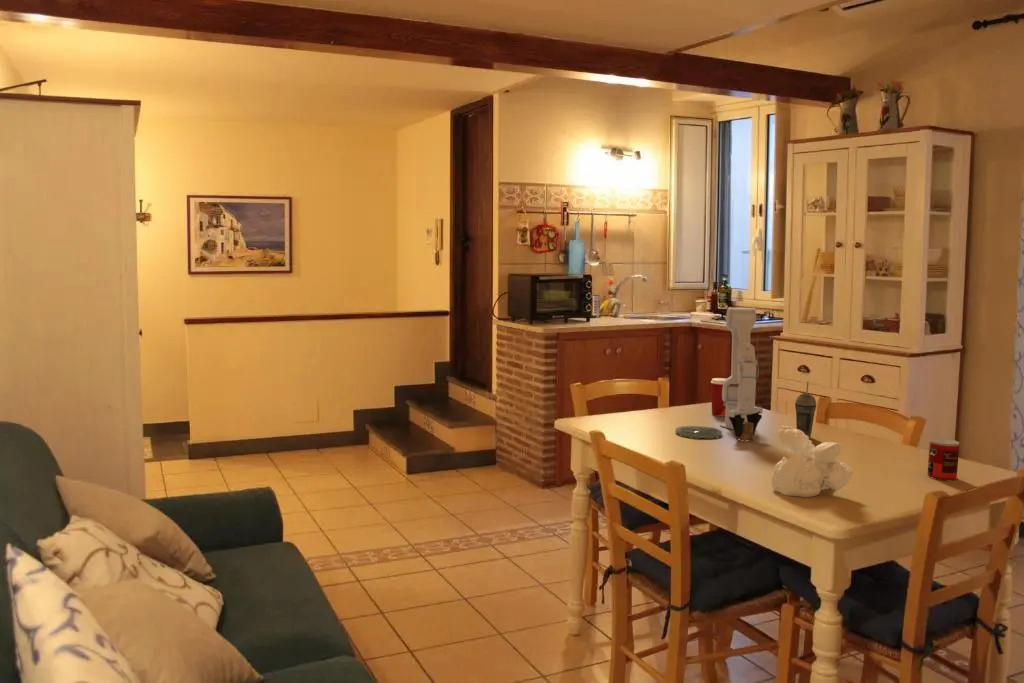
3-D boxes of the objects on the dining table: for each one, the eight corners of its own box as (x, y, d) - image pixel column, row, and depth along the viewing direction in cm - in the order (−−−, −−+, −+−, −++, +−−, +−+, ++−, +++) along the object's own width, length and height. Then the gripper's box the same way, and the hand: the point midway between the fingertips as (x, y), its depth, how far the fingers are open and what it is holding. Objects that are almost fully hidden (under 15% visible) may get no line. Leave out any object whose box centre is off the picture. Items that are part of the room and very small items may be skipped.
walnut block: (744, 438, 316) (744, 421, 316) (752, 440, 313) (753, 423, 312) (735, 439, 314) (736, 422, 313) (744, 441, 311) (745, 424, 310)
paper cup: (731, 416, 352) (732, 381, 351) (711, 416, 353) (712, 380, 351) (726, 412, 360) (728, 377, 359) (707, 412, 360) (708, 377, 359)
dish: (699, 427, 332) (699, 424, 332) (731, 436, 319) (731, 432, 318) (666, 431, 323) (666, 428, 323) (697, 440, 310) (697, 437, 310)
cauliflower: (748, 458, 250) (792, 414, 258) (768, 510, 259) (810, 467, 267) (805, 477, 235) (850, 430, 243) (824, 532, 244) (866, 486, 252)
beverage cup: (812, 435, 323) (815, 379, 320) (816, 439, 315) (820, 383, 313) (790, 434, 323) (794, 378, 321) (795, 439, 316) (798, 382, 314)
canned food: (931, 472, 275) (933, 436, 273) (959, 477, 270) (962, 441, 268) (923, 477, 269) (926, 440, 267) (953, 482, 264) (956, 445, 262)
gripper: (740, 400, 304) (738, 440, 306) (770, 396, 312) (768, 435, 314) (724, 396, 310) (722, 436, 312) (754, 393, 318) (752, 431, 320)
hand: (744, 435), depth 313 cm, fingers open, 6 cm apart
